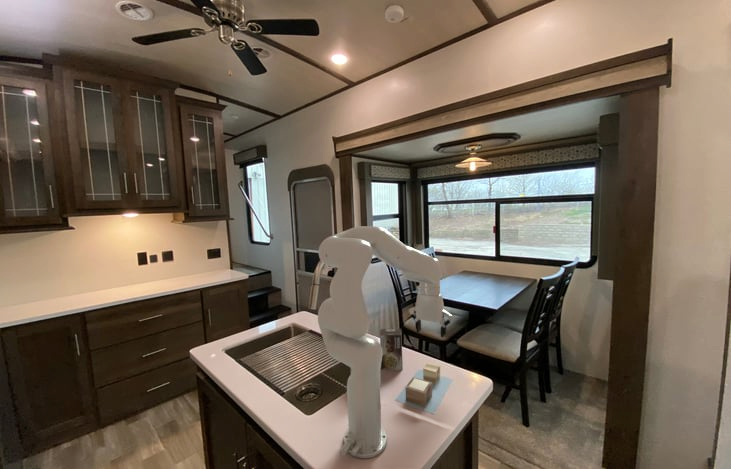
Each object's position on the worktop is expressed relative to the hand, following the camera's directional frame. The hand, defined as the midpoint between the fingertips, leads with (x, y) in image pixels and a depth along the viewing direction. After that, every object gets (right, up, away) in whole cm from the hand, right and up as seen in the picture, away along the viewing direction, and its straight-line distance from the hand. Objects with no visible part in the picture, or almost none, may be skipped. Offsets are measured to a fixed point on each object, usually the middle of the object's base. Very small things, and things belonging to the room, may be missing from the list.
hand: (430, 333), depth 110 cm
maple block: (+1, -18, +1) cm, 18 cm away
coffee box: (-14, -19, +11) cm, 26 cm away
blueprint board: (-3, -20, -5) cm, 21 cm away
